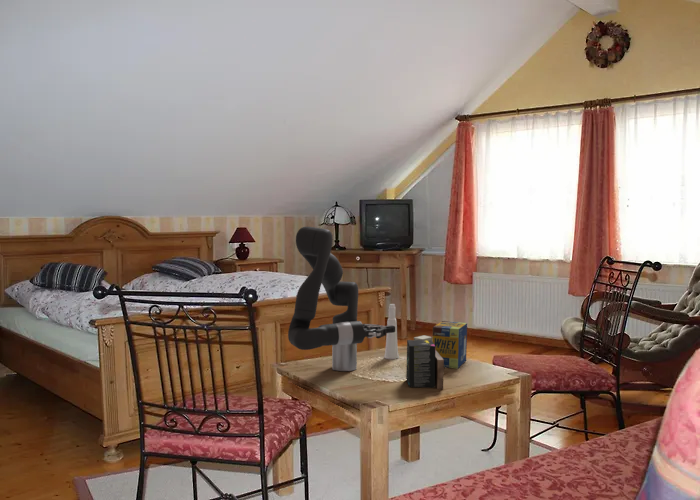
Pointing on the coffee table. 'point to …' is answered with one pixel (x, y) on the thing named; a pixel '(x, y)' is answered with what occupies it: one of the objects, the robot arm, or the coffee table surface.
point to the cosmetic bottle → (391, 336)
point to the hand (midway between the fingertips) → (394, 328)
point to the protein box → (451, 342)
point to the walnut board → (439, 370)
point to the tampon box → (420, 363)
